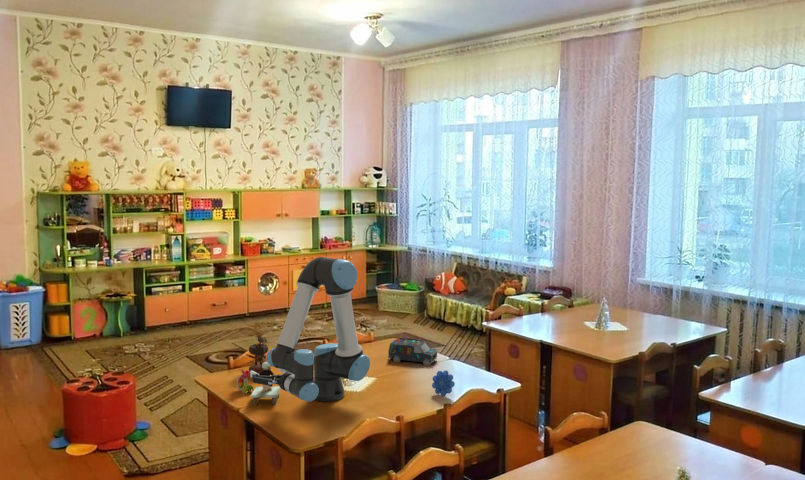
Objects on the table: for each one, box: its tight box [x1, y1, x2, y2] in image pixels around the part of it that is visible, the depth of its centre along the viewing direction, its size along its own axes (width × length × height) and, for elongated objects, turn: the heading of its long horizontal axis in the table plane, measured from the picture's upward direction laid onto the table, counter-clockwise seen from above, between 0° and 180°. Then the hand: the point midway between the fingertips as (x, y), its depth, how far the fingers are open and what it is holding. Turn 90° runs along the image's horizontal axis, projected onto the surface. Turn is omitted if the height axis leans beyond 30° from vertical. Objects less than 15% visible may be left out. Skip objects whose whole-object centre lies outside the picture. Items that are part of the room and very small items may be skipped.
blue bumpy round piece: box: [431, 370, 456, 397], centre depth 294 cm, size 12×7×12 cm, turn 54°
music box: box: [246, 333, 272, 376], centre depth 321 cm, size 15×11×20 cm
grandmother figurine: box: [259, 361, 275, 392], centre depth 285 cm, size 8×4×13 cm, turn 131°
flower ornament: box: [236, 368, 255, 395], centre depth 296 cm, size 6×11×9 cm
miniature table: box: [250, 385, 282, 406], centre depth 286 cm, size 11×11×4 cm
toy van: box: [387, 338, 438, 366], centre depth 346 cm, size 11×25×10 cm, turn 72°
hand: (265, 370), depth 284 cm, fingers open, 13 cm apart
